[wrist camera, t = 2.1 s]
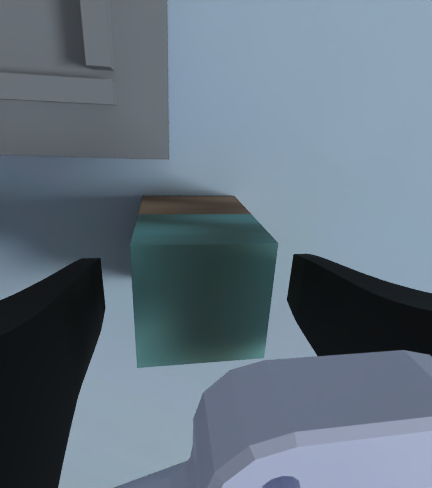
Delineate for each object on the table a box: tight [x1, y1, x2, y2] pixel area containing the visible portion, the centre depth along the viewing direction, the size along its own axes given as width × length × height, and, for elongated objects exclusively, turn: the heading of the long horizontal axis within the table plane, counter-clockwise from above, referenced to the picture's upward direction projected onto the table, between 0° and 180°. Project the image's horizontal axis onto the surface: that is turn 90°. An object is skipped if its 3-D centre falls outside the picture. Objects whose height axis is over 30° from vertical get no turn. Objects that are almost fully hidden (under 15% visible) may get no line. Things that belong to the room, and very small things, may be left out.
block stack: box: [130, 196, 278, 368], centre depth 13 cm, size 4×4×6 cm
